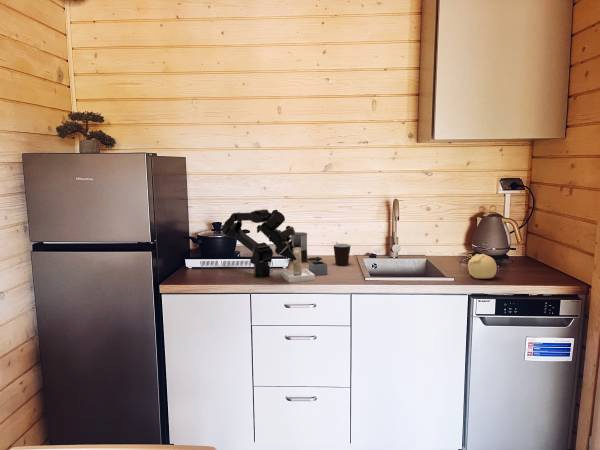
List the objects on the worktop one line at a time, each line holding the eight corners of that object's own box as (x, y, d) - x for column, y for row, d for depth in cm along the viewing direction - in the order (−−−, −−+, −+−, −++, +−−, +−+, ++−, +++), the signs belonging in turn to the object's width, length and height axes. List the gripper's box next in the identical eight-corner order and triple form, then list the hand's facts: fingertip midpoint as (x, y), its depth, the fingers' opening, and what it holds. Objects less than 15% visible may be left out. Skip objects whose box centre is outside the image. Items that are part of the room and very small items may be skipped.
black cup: (344, 267, 222) (344, 247, 220) (330, 265, 227) (330, 245, 225) (356, 263, 231) (356, 243, 229) (342, 260, 236) (342, 242, 234)
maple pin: (295, 277, 200) (294, 249, 198) (292, 275, 203) (291, 247, 202) (302, 276, 201) (302, 248, 199) (300, 275, 204) (299, 247, 203)
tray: (289, 282, 195) (288, 277, 194) (281, 276, 206) (281, 270, 206) (314, 280, 199) (314, 274, 198) (306, 273, 210) (305, 268, 209)
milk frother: (289, 259, 241) (289, 232, 239) (318, 257, 244) (317, 231, 242) (293, 265, 227) (292, 236, 225) (323, 263, 230) (323, 235, 228)
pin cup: (313, 275, 206) (313, 265, 205) (308, 272, 212) (308, 262, 212) (327, 274, 208) (327, 264, 207) (322, 271, 214) (322, 261, 214)
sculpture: (468, 273, 208) (469, 250, 206) (497, 276, 202) (498, 252, 201) (465, 279, 198) (466, 255, 196) (494, 282, 192) (496, 257, 191)
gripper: (282, 223, 190) (308, 249, 191) (286, 218, 208) (310, 241, 209) (264, 241, 192) (290, 267, 193) (270, 234, 210) (293, 257, 211)
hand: (296, 257), depth 201 cm, fingers open, 9 cm apart
